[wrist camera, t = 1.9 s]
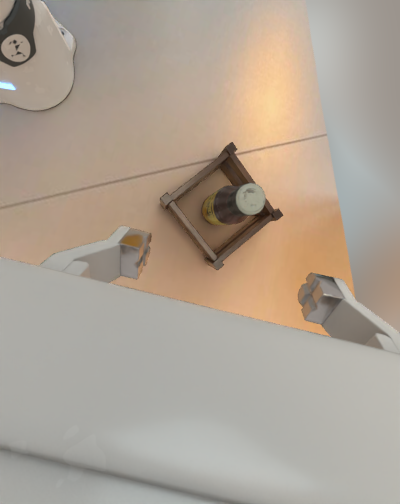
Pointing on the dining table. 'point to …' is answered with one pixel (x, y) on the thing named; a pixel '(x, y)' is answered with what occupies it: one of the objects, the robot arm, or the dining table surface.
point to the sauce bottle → (233, 204)
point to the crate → (237, 178)
